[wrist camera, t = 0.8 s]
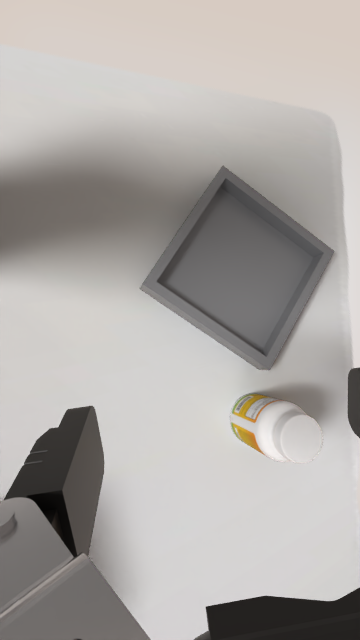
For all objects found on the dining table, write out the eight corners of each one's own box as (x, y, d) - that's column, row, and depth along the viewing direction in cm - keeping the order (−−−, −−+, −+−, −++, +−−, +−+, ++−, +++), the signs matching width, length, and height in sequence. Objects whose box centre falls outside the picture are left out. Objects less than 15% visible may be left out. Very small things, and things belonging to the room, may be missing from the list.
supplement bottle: (271, 444, 37) (329, 474, 28) (226, 441, 36) (270, 472, 27) (275, 395, 38) (332, 408, 29) (230, 390, 37) (275, 403, 28)
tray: (139, 288, 36) (142, 283, 33) (215, 177, 39) (222, 165, 37) (258, 369, 38) (269, 370, 35) (320, 257, 41) (334, 251, 39)
